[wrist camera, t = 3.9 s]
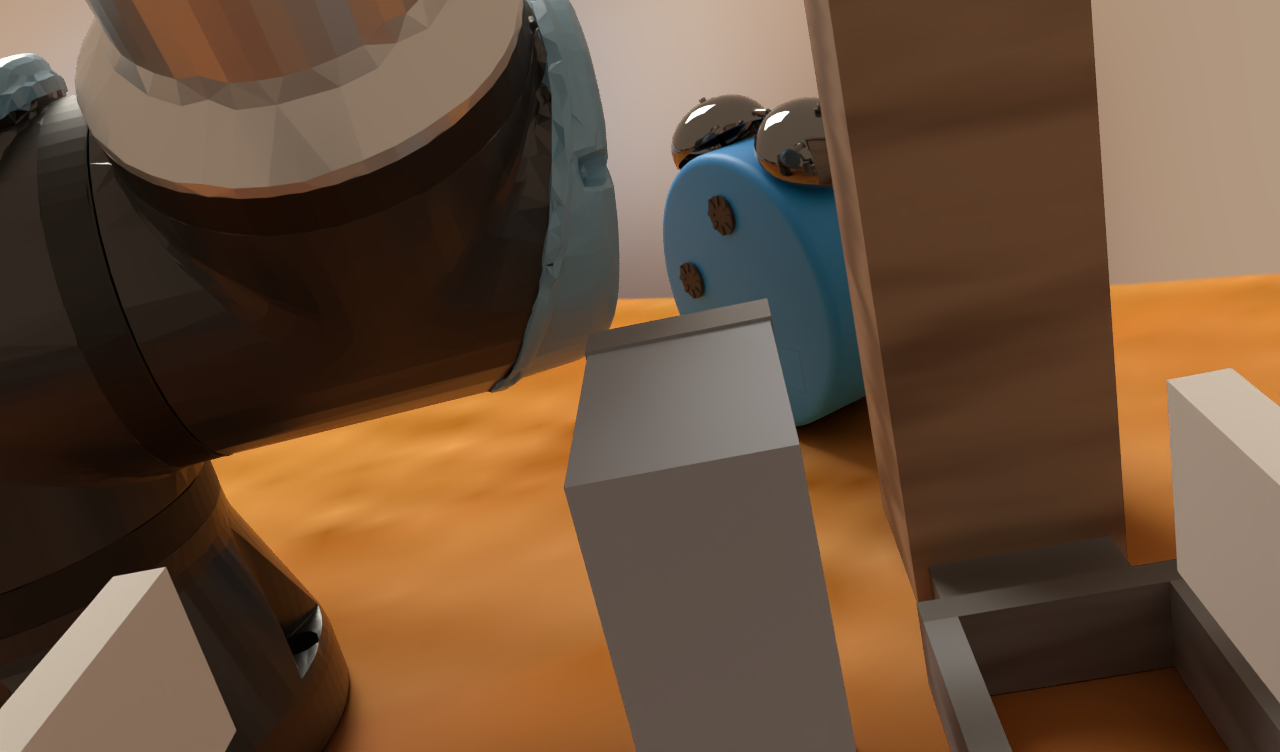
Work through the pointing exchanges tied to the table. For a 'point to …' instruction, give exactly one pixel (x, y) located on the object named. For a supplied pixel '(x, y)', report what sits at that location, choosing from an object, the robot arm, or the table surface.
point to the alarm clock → (766, 238)
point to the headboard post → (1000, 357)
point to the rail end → (704, 538)
